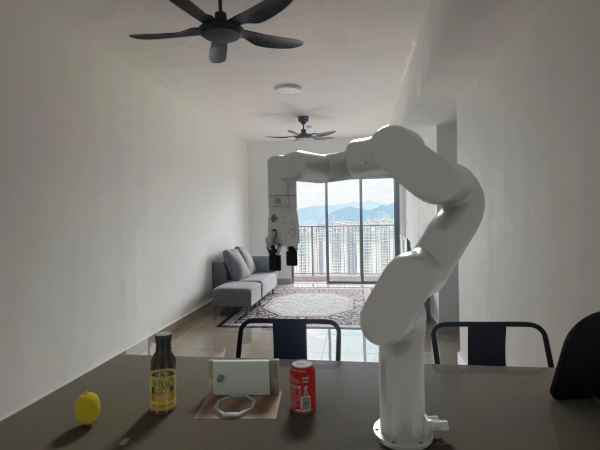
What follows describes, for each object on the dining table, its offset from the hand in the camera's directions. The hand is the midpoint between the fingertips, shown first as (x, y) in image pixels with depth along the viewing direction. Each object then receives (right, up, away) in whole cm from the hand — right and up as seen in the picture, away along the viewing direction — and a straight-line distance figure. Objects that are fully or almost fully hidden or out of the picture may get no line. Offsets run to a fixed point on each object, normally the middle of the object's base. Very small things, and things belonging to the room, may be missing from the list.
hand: (283, 268), depth 103 cm
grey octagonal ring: (-12, -34, -6) cm, 37 cm away
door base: (-11, -35, -4) cm, 37 cm away
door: (-11, -34, 0) cm, 35 cm away
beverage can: (+5, -35, -6) cm, 36 cm away
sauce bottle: (-30, -36, -5) cm, 47 cm away
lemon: (-46, -36, -10) cm, 60 cm away
